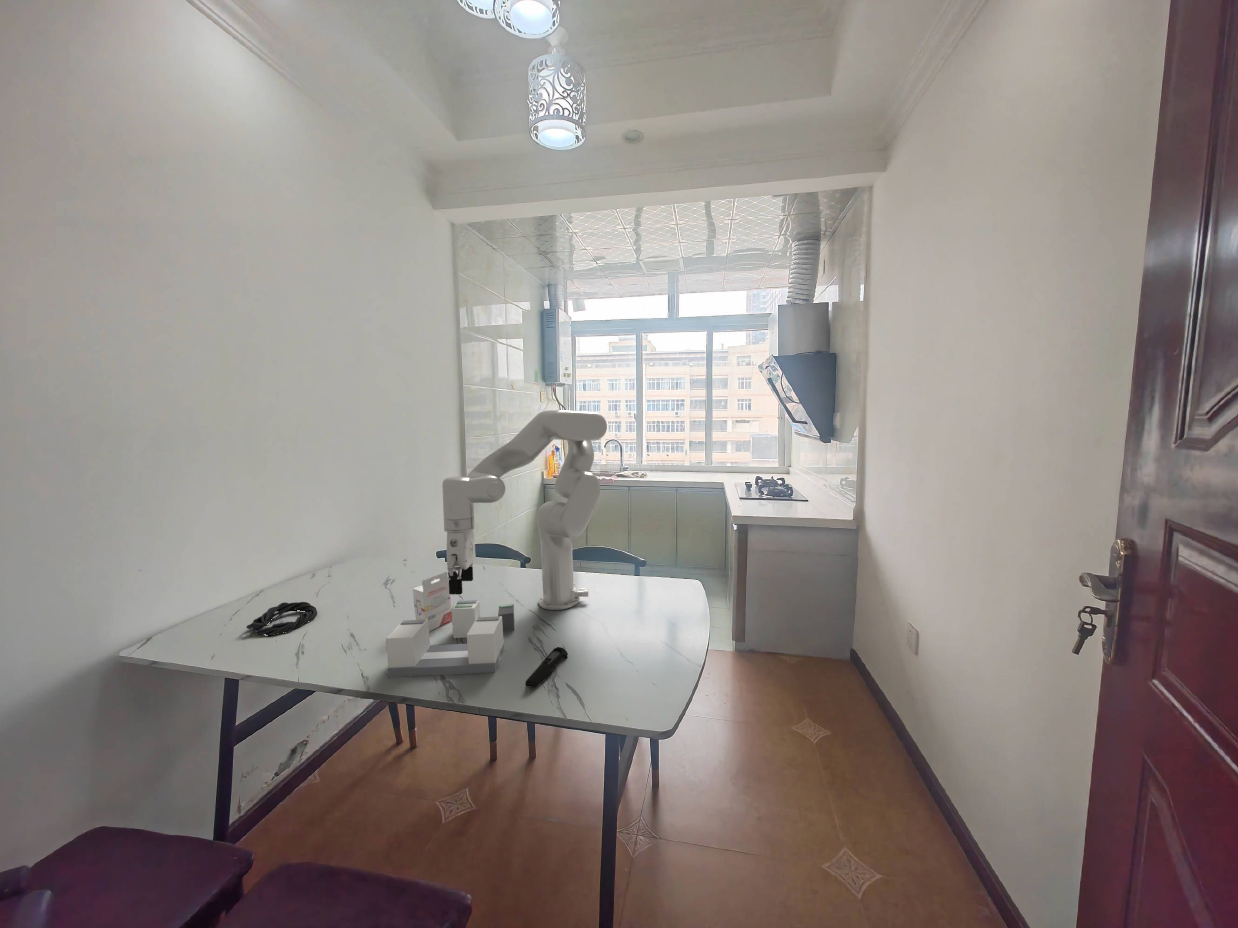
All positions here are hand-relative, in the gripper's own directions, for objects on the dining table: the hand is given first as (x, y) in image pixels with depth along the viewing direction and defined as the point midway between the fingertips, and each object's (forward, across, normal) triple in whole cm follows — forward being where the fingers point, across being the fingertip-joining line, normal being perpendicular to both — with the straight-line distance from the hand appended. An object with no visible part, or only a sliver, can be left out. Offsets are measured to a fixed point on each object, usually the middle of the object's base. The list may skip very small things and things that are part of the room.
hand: (461, 587), depth 122 cm
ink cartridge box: (+13, +7, +10) cm, 18 cm away
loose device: (+13, +4, -11) cm, 17 cm away
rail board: (+13, -14, -1) cm, 20 cm away
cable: (+15, +13, +54) cm, 57 cm away
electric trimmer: (+13, -20, -25) cm, 35 cm away
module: (+13, +1, -1) cm, 13 cm away
